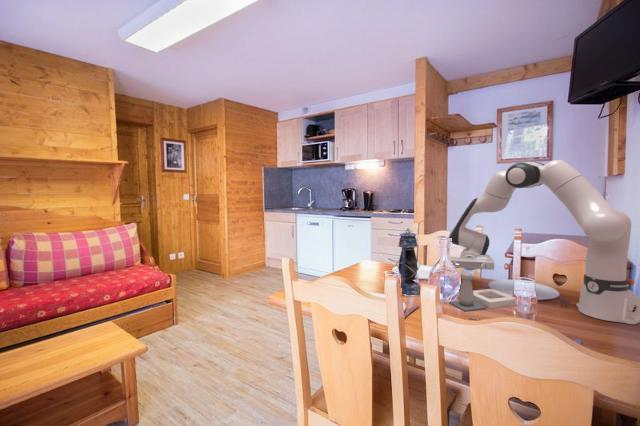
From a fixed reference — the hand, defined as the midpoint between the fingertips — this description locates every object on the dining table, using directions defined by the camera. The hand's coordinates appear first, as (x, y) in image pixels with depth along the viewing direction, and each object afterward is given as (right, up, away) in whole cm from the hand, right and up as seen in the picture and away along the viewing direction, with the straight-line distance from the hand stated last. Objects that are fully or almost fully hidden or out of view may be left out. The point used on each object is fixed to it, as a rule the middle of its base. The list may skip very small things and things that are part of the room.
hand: (468, 266), depth 137 cm
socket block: (+7, -14, -5) cm, 16 cm away
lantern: (-24, -14, +9) cm, 29 cm away
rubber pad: (-6, -14, -10) cm, 19 cm away
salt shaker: (-6, -14, -10) cm, 18 cm away
